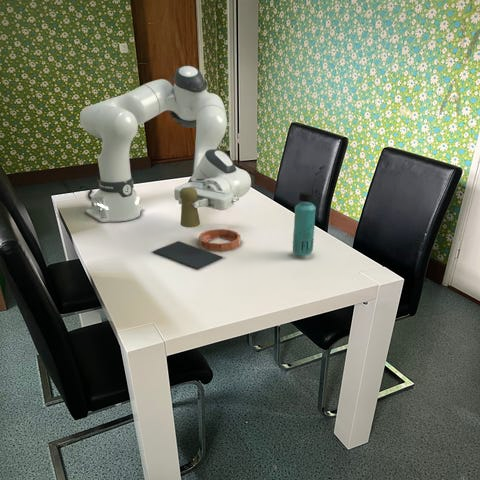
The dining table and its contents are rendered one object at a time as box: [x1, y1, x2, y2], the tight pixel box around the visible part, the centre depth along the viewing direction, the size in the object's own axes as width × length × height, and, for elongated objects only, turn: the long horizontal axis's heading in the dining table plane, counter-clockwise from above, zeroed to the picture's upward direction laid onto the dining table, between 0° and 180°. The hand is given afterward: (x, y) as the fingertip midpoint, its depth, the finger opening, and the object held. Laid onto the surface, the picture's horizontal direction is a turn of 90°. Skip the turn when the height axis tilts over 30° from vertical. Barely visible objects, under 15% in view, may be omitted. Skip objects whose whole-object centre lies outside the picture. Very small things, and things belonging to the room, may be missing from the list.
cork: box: [180, 187, 201, 228], centre depth 140 cm, size 6×6×11 cm
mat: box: [152, 240, 223, 270], centre depth 147 cm, size 20×11×1 cm, turn 49°
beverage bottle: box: [292, 190, 317, 256], centre depth 141 cm, size 6×7×20 cm
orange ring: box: [197, 228, 242, 252], centre depth 154 cm, size 14×14×2 cm
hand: (186, 203), depth 139 cm, fingers closed on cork, 4 cm apart
